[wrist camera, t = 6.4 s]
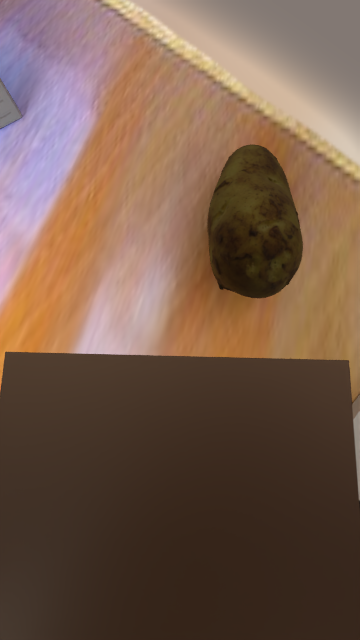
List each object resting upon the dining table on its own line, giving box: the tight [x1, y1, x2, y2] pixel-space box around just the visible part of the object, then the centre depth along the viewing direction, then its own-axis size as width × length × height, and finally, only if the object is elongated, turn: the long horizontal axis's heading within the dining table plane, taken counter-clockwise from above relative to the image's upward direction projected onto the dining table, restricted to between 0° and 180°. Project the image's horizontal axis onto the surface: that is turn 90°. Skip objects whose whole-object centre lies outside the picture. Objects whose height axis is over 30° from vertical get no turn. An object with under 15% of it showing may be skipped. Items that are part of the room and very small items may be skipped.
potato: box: [208, 145, 303, 298], centre depth 20 cm, size 8×13×8 cm, turn 154°
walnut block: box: [0, 352, 360, 640], centre depth 9 cm, size 4×4×13 cm
